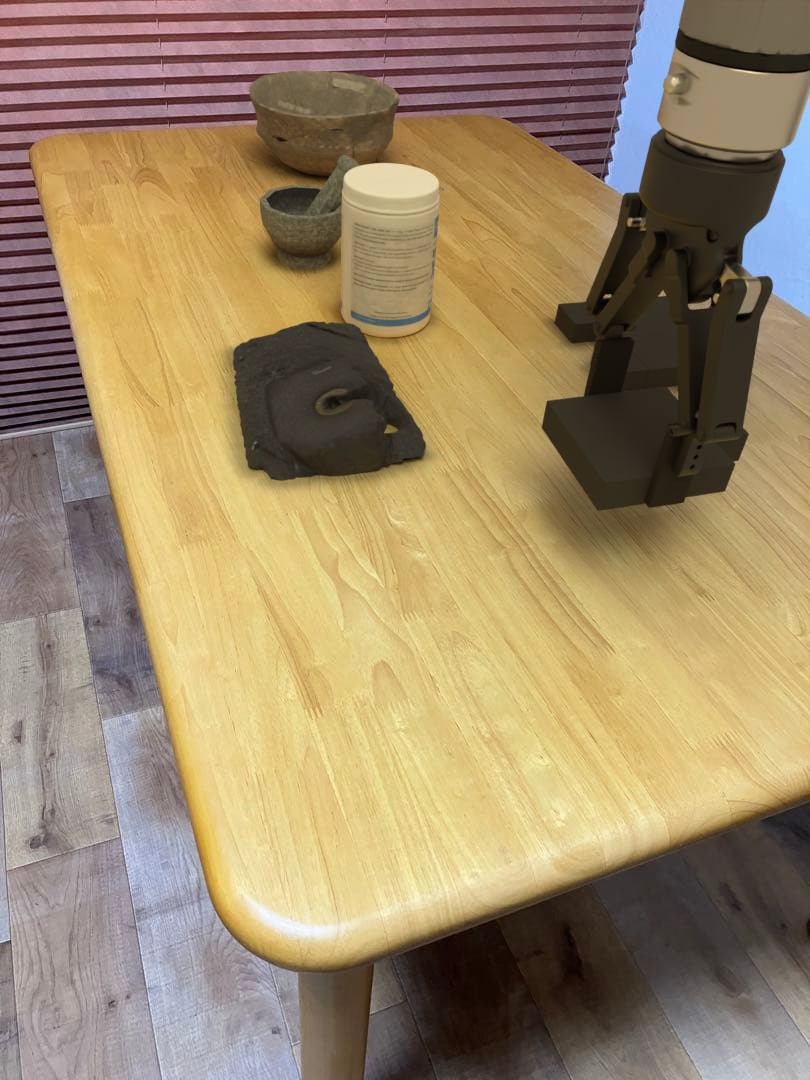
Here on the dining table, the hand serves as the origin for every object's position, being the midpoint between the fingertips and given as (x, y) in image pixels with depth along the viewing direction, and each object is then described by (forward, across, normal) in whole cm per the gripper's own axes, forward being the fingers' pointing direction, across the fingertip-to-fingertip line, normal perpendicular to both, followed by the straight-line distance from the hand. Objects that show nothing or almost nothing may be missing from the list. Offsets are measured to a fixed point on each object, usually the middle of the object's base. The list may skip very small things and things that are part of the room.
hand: (628, 456), depth 64 cm
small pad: (0, 0, +2) cm, 2 cm away
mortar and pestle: (+8, -52, -13) cm, 54 cm away
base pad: (+8, -26, +17) cm, 32 cm away
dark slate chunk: (+8, -22, -18) cm, 30 cm away
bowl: (+8, -82, -5) cm, 82 cm away
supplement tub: (+8, -37, -8) cm, 39 cm away
